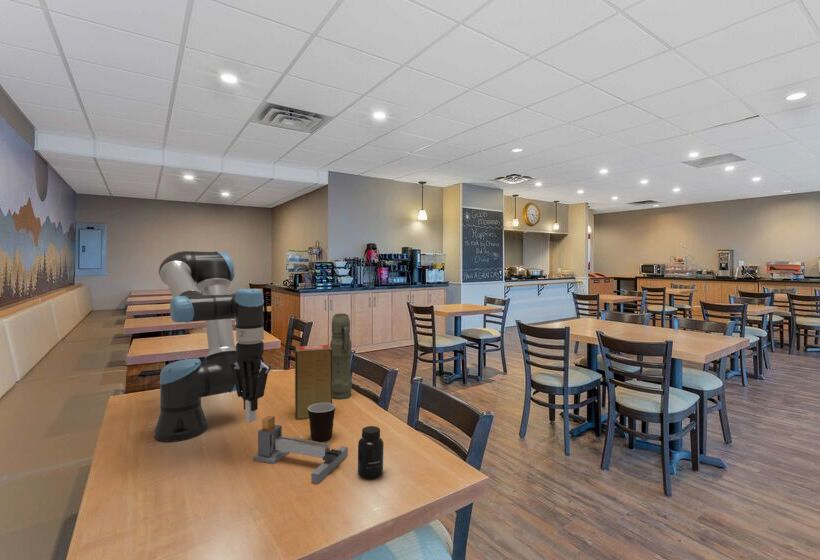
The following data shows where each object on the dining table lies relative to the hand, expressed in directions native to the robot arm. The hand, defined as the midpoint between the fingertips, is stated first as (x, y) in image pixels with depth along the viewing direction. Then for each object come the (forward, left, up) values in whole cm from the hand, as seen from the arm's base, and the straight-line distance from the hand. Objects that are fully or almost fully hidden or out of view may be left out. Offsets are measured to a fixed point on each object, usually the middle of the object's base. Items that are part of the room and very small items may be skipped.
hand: (250, 420), depth 116 cm
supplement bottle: (+38, +1, -10) cm, 39 cm away
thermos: (0, +54, -10) cm, 55 cm away
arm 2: (+19, +1, -7) cm, 20 cm away
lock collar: (+7, 0, -8) cm, 11 cm away
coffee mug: (+14, +17, -10) cm, 24 cm away
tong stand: (+16, 0, -10) cm, 18 cm away
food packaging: (0, +33, -10) cm, 34 cm away
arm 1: (+19, -1, -7) cm, 20 cm away
